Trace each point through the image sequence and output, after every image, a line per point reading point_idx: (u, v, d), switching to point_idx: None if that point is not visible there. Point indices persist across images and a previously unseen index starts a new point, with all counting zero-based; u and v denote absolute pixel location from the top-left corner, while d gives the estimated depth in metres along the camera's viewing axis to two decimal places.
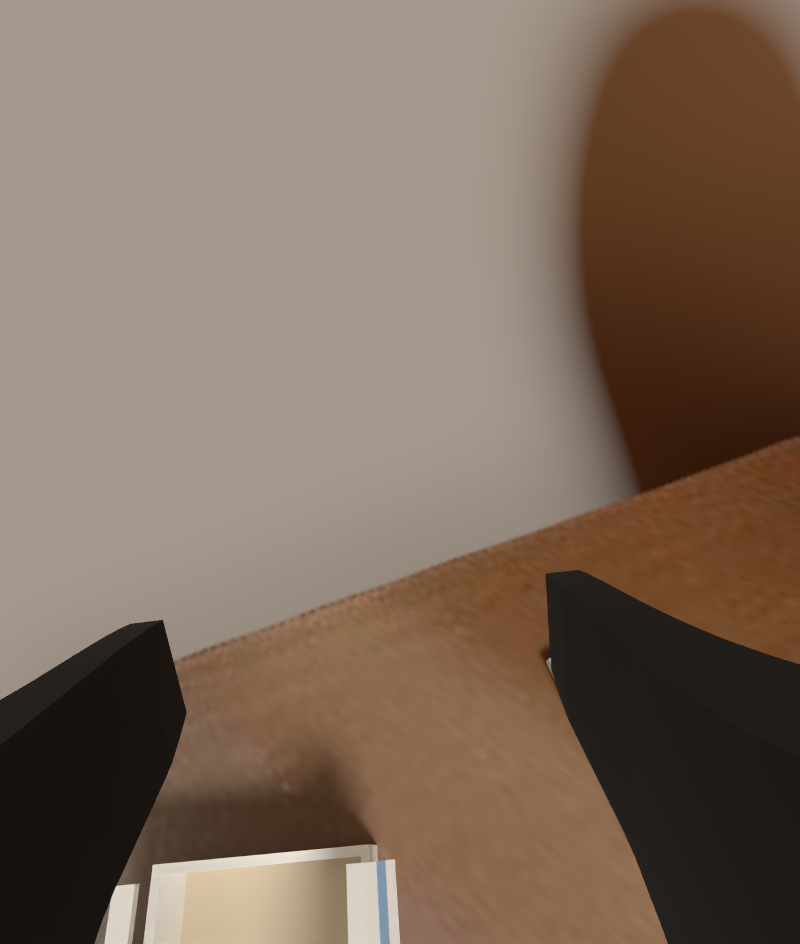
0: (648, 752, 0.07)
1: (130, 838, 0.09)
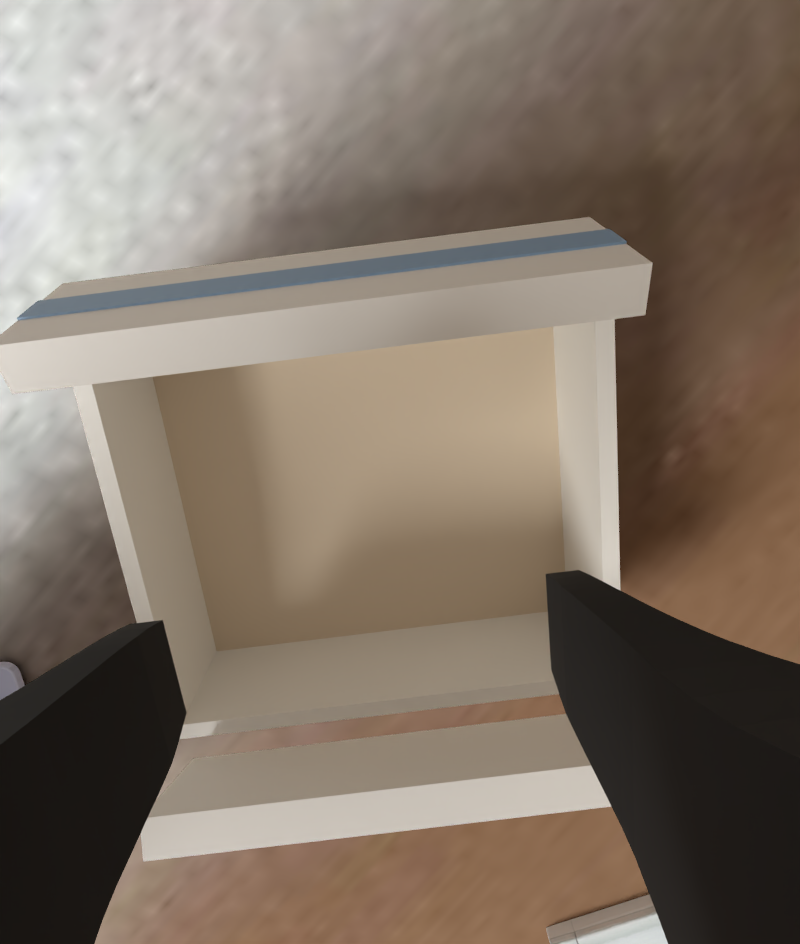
0: (648, 752, 0.07)
1: (130, 838, 0.09)
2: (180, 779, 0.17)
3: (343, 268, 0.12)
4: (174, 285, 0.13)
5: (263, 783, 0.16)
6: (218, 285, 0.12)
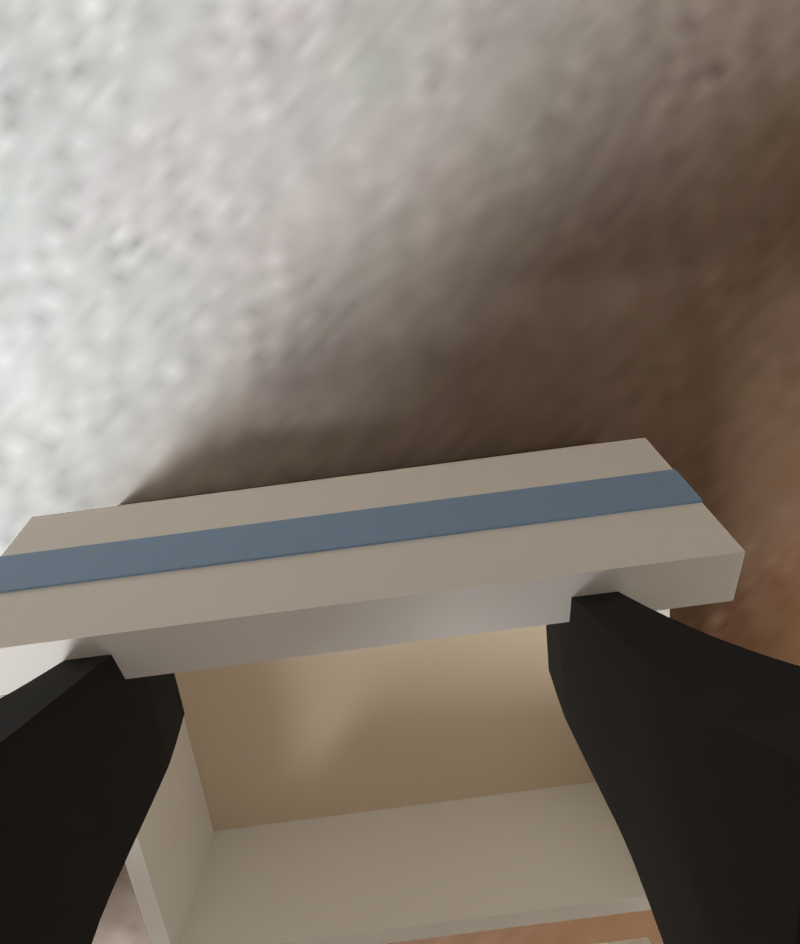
0: (644, 752, 0.07)
1: (127, 838, 0.09)
2: None
3: (361, 524, 0.10)
4: (160, 537, 0.11)
5: None
6: (211, 548, 0.10)
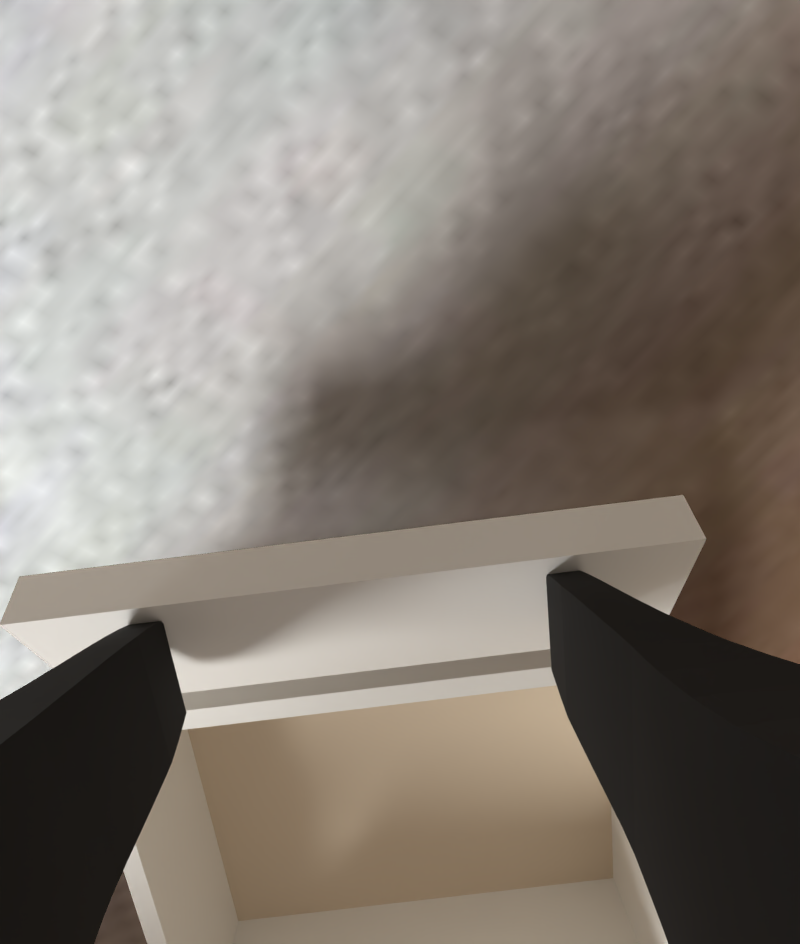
0: (648, 752, 0.07)
1: (130, 838, 0.09)
2: None
3: None
4: None
5: None
6: None
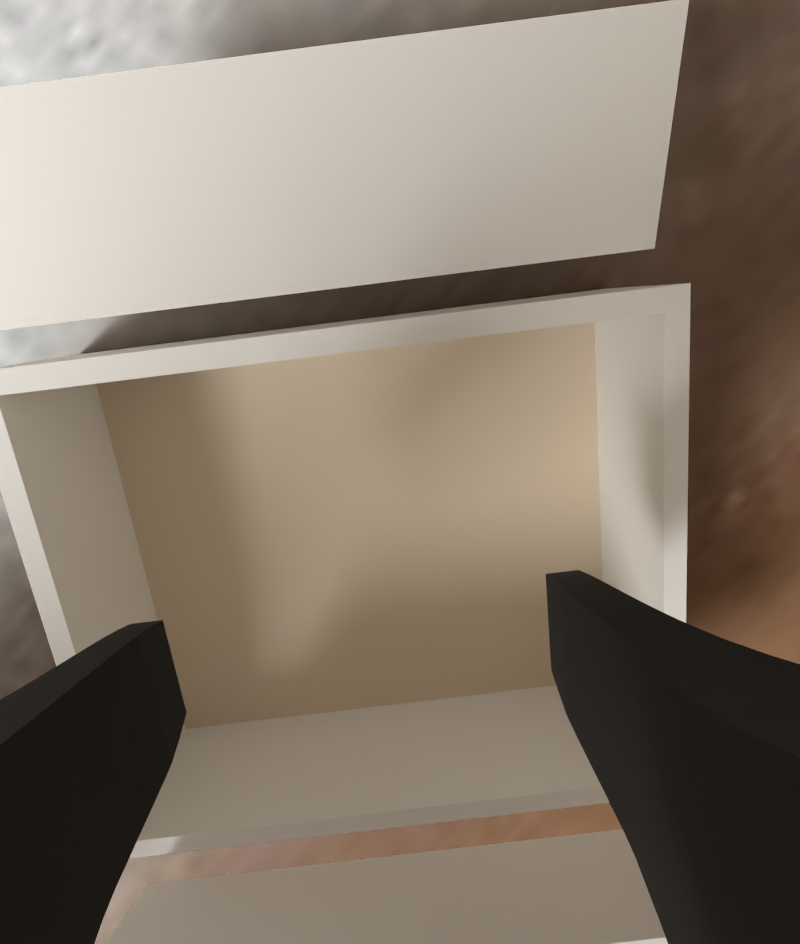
0: (648, 752, 0.07)
1: (130, 838, 0.09)
2: (126, 925, 0.13)
3: None
4: None
5: (229, 943, 0.12)
6: None
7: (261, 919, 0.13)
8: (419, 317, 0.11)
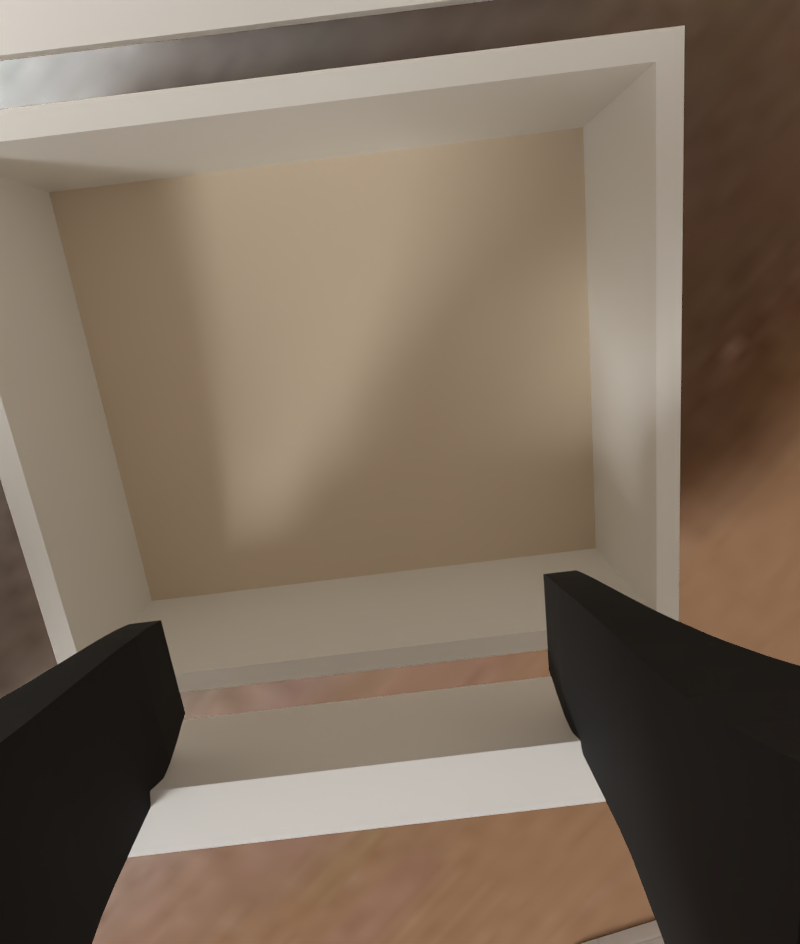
0: (644, 752, 0.07)
1: (128, 838, 0.09)
2: None
3: None
4: None
5: (182, 760, 0.11)
6: None
7: (219, 744, 0.12)
8: (389, 63, 0.10)
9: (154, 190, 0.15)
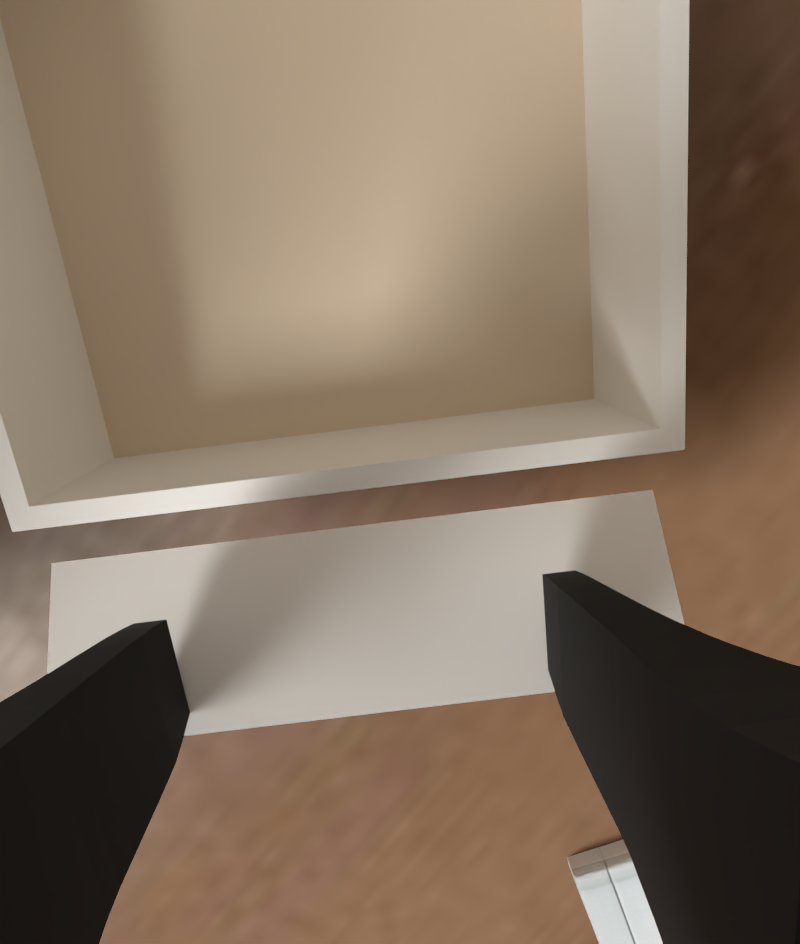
0: (643, 753, 0.07)
1: (134, 838, 0.09)
2: (57, 636, 0.12)
3: None
4: None
5: (185, 670, 0.12)
6: None
7: (209, 635, 0.12)
8: None
9: None
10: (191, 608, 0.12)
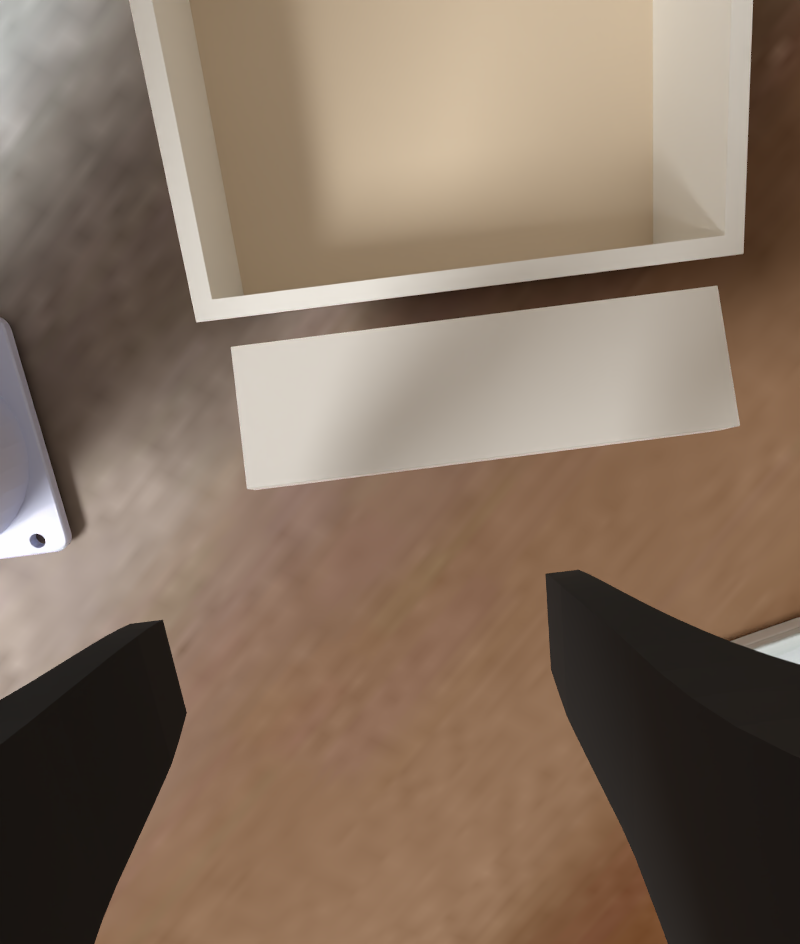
0: (648, 752, 0.07)
1: (130, 838, 0.09)
2: (244, 404, 0.15)
3: None
4: None
5: (351, 427, 0.15)
6: None
7: (367, 401, 0.15)
8: None
9: None
10: (350, 381, 0.15)
